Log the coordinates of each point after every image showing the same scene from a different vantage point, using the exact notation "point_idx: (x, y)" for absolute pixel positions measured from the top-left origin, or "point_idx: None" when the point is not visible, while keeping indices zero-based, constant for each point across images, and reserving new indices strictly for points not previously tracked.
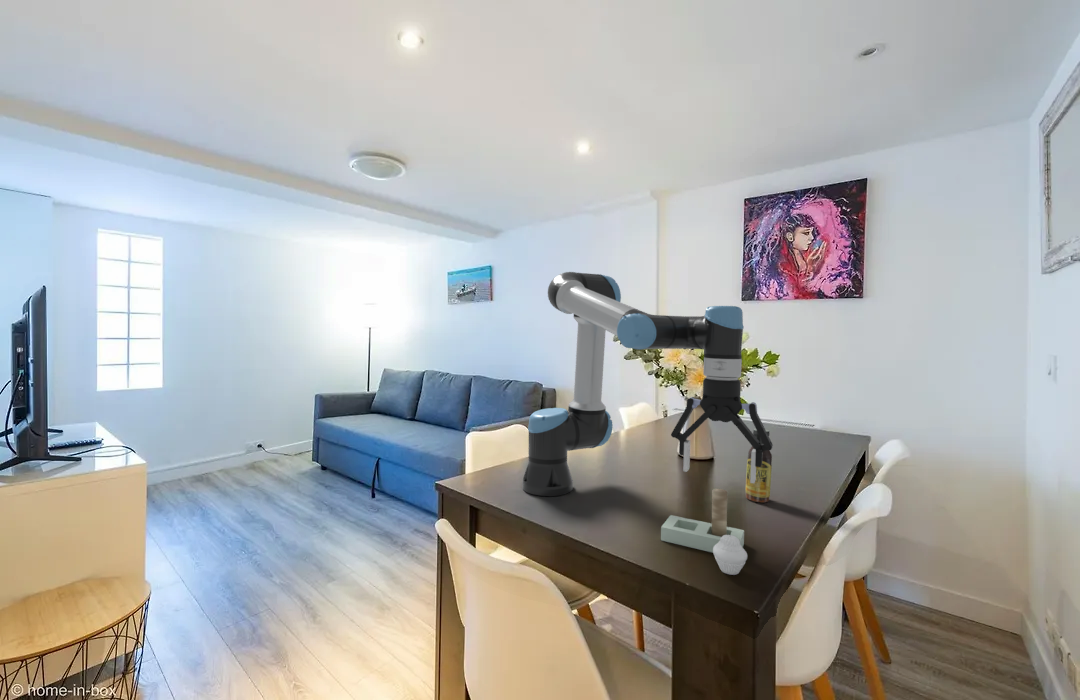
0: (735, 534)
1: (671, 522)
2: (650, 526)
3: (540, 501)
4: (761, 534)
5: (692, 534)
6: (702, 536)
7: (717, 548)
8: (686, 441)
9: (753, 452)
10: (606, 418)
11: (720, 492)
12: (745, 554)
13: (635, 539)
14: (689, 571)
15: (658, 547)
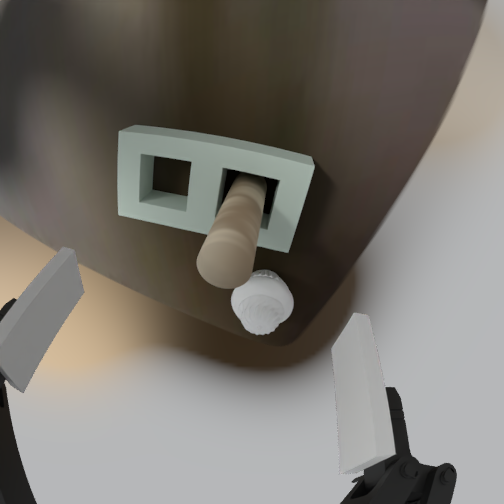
0: (287, 202)
1: (130, 180)
2: (98, 139)
3: None
4: (366, 85)
5: (185, 228)
6: (207, 234)
7: (238, 316)
8: (3, 374)
9: (347, 471)
10: None
11: (227, 281)
12: (288, 316)
13: (95, 214)
14: (201, 296)
15: (137, 232)
